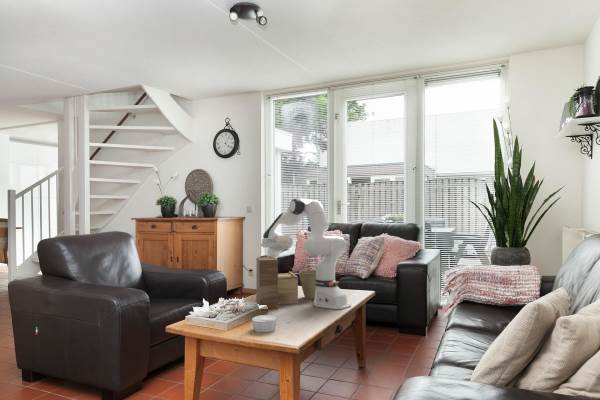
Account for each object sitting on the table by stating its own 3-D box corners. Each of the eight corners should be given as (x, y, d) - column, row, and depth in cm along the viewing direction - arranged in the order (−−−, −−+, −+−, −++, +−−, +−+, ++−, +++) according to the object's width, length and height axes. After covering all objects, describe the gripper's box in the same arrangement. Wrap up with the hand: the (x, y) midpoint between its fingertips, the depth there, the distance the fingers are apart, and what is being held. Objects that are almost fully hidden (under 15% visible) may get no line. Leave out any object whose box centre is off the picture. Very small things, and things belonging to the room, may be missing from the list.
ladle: (290, 243, 249) (290, 235, 249) (280, 243, 247) (280, 236, 247) (283, 240, 273) (283, 233, 273) (273, 240, 271) (273, 233, 271)
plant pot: (323, 300, 252) (323, 273, 252) (298, 300, 252) (298, 273, 253) (322, 295, 267) (322, 269, 267) (299, 295, 267) (299, 269, 267)
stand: (302, 307, 233) (302, 257, 234) (259, 310, 228) (259, 259, 228) (290, 295, 266) (290, 251, 266) (252, 297, 260) (252, 252, 261)
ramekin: (253, 334, 186) (253, 322, 186) (250, 327, 197) (250, 315, 197) (278, 332, 188) (278, 320, 188) (274, 325, 199) (274, 314, 199)
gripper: (260, 242, 280) (262, 232, 268) (290, 241, 284) (293, 232, 273) (260, 250, 276) (263, 241, 265) (291, 250, 281) (295, 241, 270)
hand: (279, 237), depth 269 cm, fingers closed on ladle, 3 cm apart
